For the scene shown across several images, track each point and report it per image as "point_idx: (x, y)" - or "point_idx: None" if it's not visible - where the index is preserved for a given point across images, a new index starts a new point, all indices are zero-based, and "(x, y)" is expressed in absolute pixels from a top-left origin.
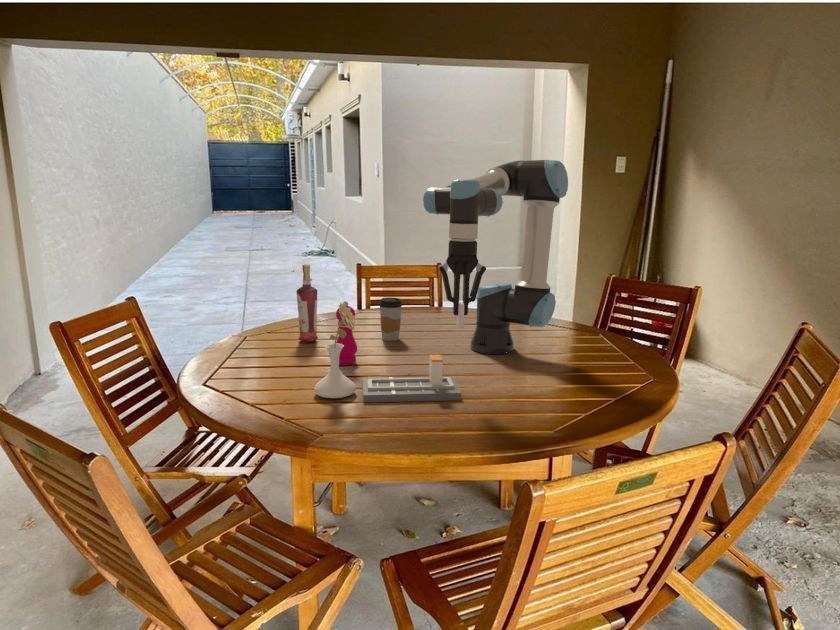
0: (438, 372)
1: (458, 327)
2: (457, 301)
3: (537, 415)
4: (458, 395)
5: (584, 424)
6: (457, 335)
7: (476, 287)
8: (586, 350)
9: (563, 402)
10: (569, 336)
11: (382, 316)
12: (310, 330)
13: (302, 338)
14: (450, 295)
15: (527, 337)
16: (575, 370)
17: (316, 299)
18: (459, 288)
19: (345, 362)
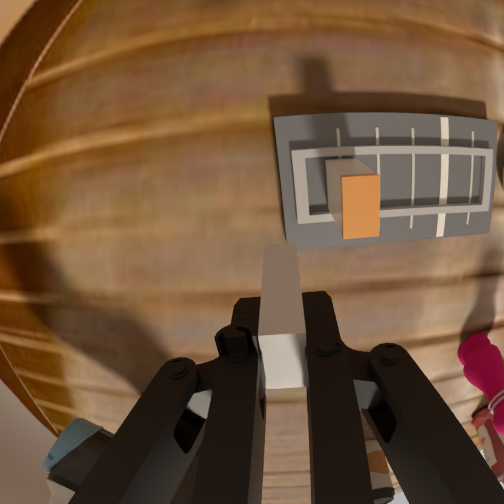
0: (345, 166)
1: (293, 243)
2: (322, 349)
3: (103, 47)
4: (281, 116)
5: (38, 33)
6: None
7: (121, 458)
8: (52, 390)
9: (49, 135)
10: None
11: (388, 474)
12: (489, 421)
13: None
14: (399, 383)
15: None
16: (43, 314)
17: (493, 465)
18: (315, 459)
19: (480, 335)
